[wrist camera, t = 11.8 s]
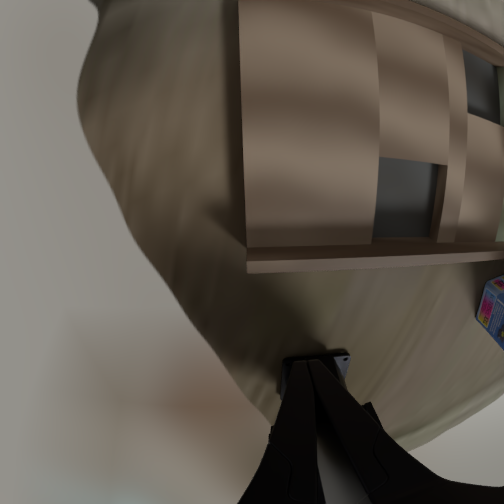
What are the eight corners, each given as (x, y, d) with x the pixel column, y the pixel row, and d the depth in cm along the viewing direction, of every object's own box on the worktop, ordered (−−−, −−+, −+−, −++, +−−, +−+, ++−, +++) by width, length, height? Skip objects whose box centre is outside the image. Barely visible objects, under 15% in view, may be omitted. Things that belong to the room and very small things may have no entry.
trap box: (515, 242, 20) (535, 256, 16) (247, 249, 20) (247, 273, 17) (526, 81, 12) (549, 83, 9) (238, -1, 12) (236, -25, 9)
